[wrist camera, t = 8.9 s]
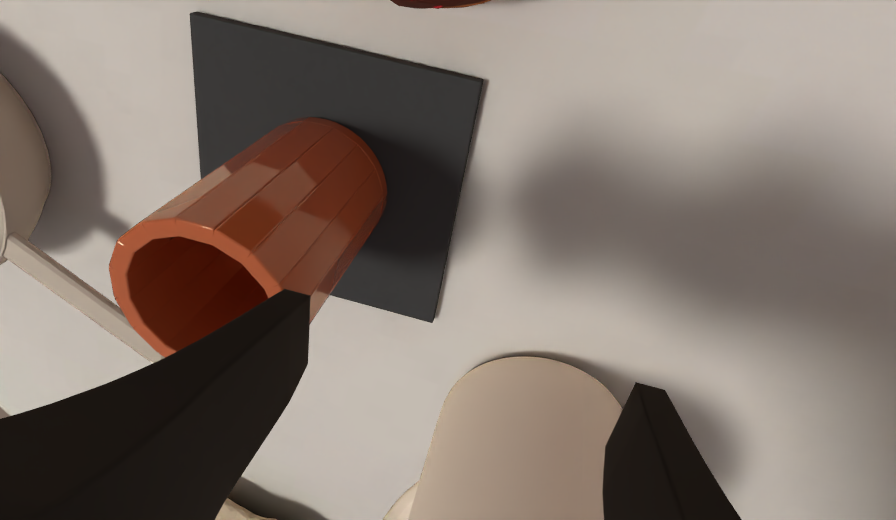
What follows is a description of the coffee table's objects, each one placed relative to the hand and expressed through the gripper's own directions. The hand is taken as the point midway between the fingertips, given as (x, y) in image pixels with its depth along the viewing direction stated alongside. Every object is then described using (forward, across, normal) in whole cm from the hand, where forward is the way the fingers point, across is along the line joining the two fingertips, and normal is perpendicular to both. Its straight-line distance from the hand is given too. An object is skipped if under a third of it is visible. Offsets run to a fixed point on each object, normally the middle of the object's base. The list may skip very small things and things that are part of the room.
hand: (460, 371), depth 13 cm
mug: (+10, -2, +12) cm, 15 cm away
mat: (+9, +7, +1) cm, 12 cm away
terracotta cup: (+9, +7, +1) cm, 11 cm away
